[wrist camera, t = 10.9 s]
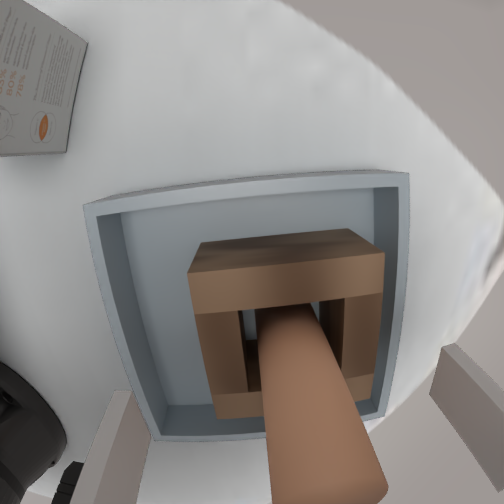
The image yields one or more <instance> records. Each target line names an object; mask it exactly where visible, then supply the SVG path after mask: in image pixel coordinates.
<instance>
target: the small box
mask: <svg viewBox="0 0 504 504" xmlns="http://www.w3.org/2000/svg"><path fill="white" fill-rule="evenodd" d="M86 46H87V42H86V41H85V40H83V39H82V38H81V37H79V36H78V35H76V34H75V33H73V32H72V31H70V30H69V29H67V28H66V27H64V26H63V25H61V24H60V23H59V22H57V21H55V20H54V19H52V18H51V17H49V16H48V15H46V14H45V13H43V12H41V11H40V10H38V9H37V8H35V7H33V6H32V5H30V4H28V3H27V2H25V1H23V0H0V157H7V156H24V155H41V154H59V153H65V152H66V146H67V138H68V131H69V125H70V119H71V113H72V107H73V102H74V97H75V92H76V87H77V83H78V78H79V74H80V69H81V65H82V61H83V58H84V54H85V50H86Z"/></svg>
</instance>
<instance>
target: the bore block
mask: <svg viewBox="0 0 504 504" xmlns="http://www.w3.org/2000/svg"><path fill="white" fill-rule="evenodd" d="M384 265H385V252H383V251H382V250H380V249H379V248H377V247H376V246H374V245H373V244H371V243H370V242H368V241H367V240H365V239H364V238H362V237H361V236H359V235H358V234H356V233H355V232H353V231H352V230H350V229H349V228H344V229H333V230H322V231H311V232H300V233H290V234H280V235H269V236H259V237H249V238H239V239H229V240H220V241H210V242H201V243H200V245H199V248H198V250H197V252H196V254H195V256H194V259H193V261H192V263H191V265H190V268H189V270H188V272H187V277H188V283H189V289H190V295H191V300H192V306H193V311H194V316H195V322H196V327H197V332H198V337H199V342H200V347H201V352H202V356H203V361H204V366H205V370H206V375H207V379H208V384H209V388H210V392H211V397H212V401H213V405H214V409H215V413H216V417H217V419H233V418H247V417H258V416H264V409H263V398H262V388H261V377H260V366H259V355H258V344H257V339H253V340H246V337H245V329H244V320H243V312H242V310H249V309H259V308H268V307H277V306H286V305H295V304H303V303H311V302H319V323H320V325H321V327H322V330H323V332H324V334H325V336H326V338H327V341H328V343H329V345H330V347H331V350H332V352H333V354H334V357H335V359H336V361H337V363H338V366H339V368H340V370H341V373H342V375H343V377H344V379H345V382H346V384H347V386H348V389H349V391H350V393H351V396H352V398H353V400H354V402H356V401H361V400H365V399H369V398H370V396H371V390H372V384H373V378H374V371H375V364H376V357H377V349H378V341H379V332H380V322H381V311H382V299H383V284H384Z"/></svg>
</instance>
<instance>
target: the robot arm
mask: <svg viewBox="0 0 504 504" xmlns="http://www.w3.org/2000/svg"><path fill="white" fill-rule="evenodd" d="M429 395H430V396H431V397H432V399H433V400H434V401H435V403H436V404H437V405H438V407H439V408H440V409H441V411H442V412H443V414H444V415H445V416H446V418H447V419H448V420H449V422H450V423H451V425H452V426H453V427H454V429H455V430H456V432H457V433H458V434H459V436H460V437H461V439H462V440H463V441H464V443H465V444H466V446H467V447H468V448H469V450H470V451H471V453H472V454H473V456H474V457H475V459H476V460H477V462H478V463H479V464H480V466H481V467H482V469H483V470H484V472H485V473H486V475H487V476H488V478H489V479H490V481H491V482H492V484H493V485H494V487H495V488H496V490H497V491H498V492H500V491H501V490H503V489H504V391H503V390H502V389H501V388H500V387H499V386H498V385H497V384H496V383H495V382H494V381H493V379H492V378H491V377H490V376H488V375H487V374H486V373H485V372H484V371H483V370H482V369H481V368H480V367H479V366H478V365H477V364H476V363H475V362H474V361H473V360H472V359H471V358H470V357H469V356H468V355H467V354H466V353H465V352H464V351H463V350H462V349H461V348H459V346H458V345H456V344H455V343H453V344H450V345H447V346H443V347H442V348H441V352H440V356H439V360H438V364H437V368H436V372H435V375H434V379H433V383H432V386H431V389H430V393H429ZM150 439H151V434H150V432H149V430H148V428H147V425H146V423H145V421H144V419H143V416H142V414H141V412H140V409H139V407H138V404H137V402H136V400H135V397H134V395H133V392H132V391H119V390H115V391H114V393H113V396H112V398H111V400H110V402H109V405H108V407H107V409H106V412H105V414H104V416H103V419H102V421H101V424H100V426H99V428H98V431H97V433H96V436H95V438H94V441H93V443H92V446H91V448H90V451H89V453H88V456H87V458H86V461H85V463H80V462H75V461H73V462H72V463H71V464H70V465H69V466H68V467H67V468H66V469H65V471H64V473H63V475H62V478H61V480H60V484H59V485H58V488H57V493H55V495H54V498H53V500H52V503H51V504H136V501H137V497H138V492H139V487H140V482H141V478H142V473H143V469H144V464H145V460H146V456H147V451H148V447H149V443H150ZM65 447H66V437H65V433H64V430H63V428H62V426H61V424H60V422H59V420H58V419H57V417H56V416H55V414H54V413H53V411H52V410H51V409H50V407H49V406H48V405H47V404H46V403H45V401H44V400H43V399H42V398H41V397H40V396H39V395H38V394H37V392H36V391H35V390H34V389H33V388H32V387H31V386H30V385H29V384H27V383H26V382H25V381H24V380H23V379H22V378H21V377H20V376H18V375H17V374H16V373H15V372H13V371H12V370H11V369H9V368H8V367H7V366H5V365H4V364H2V363H0V504H20V502H21V500H22V498H23V496H24V494H25V492H26V490H27V488H28V487H29V486H30V485H32V484H33V483H34V482H35V481H36V480H37V479H39V478H40V477H41V476H42V475H43V474H44V473H45V472H46V470H47V469H48V468H51V467H53V466H54V465H55V464H56V463H57V462H58V461H59V460H60V457H61V455H62V453H63V451H64V449H65Z"/></svg>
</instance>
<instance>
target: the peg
mask: <svg viewBox="0 0 504 504" xmlns="http://www.w3.org/2000/svg"><path fill="white" fill-rule="evenodd" d="M254 311H255V322H256V333H257V344H258V355H259V366H260V377H261V388H262V398H263V409H264V420H265V430H266V441H267V452H268V462H269V473H270V483H271V494H272V503H273V504H377V503H378V502H380V500H382V498H383V497H384V496H385V495H386V493H387V491H388V484H387V481H386V479H385V476H384V473H383V471H382V468H381V466H380V463H379V461H378V458H377V456H376V454H375V451H374V449H373V446H372V444H371V441H370V439H369V436H368V434H367V431H366V429H365V427H364V424H363V422H362V419H361V417H360V415H359V412H358V410H357V408H356V405H355V403H354V400H353V398H352V396H351V393H350V391H349V389H348V386H347V384H346V382H345V379H344V377H343V375H342V373H341V370H340V368H339V366H338V363H337V361H336V359H335V357H334V354H333V352H332V350H331V347H330V345H329V343H328V341H327V338H326V336H325V334H324V332H323V330H322V327H321V325H320V323H319V321H318V318H317V316H316V314H315V312H314V310H313V307H312V305H311V303H303V304H295V305H286V306H277V307H268V308H259V309H254Z"/></svg>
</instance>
